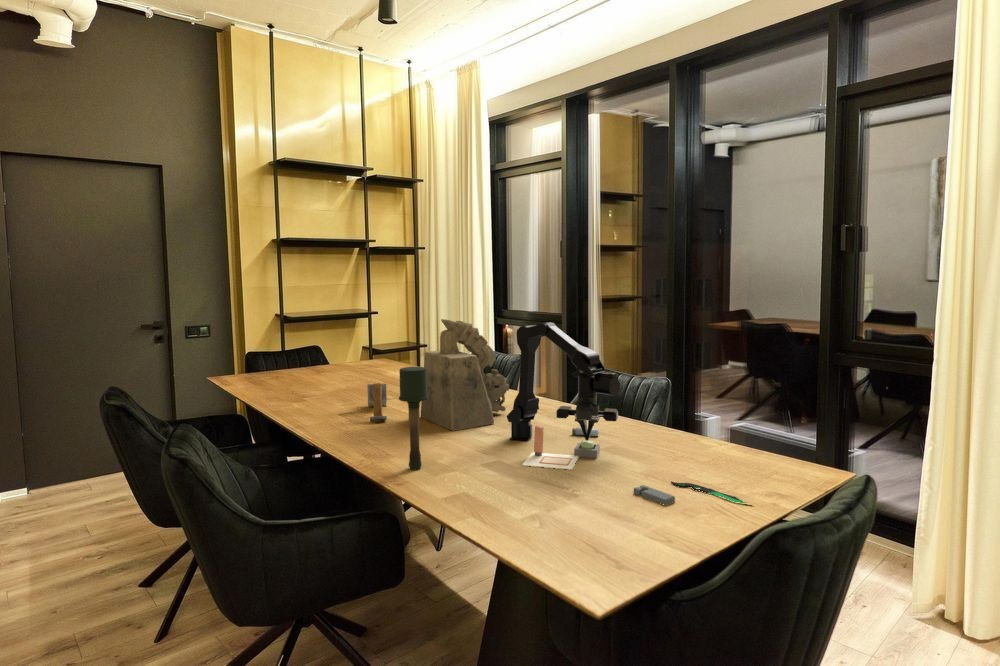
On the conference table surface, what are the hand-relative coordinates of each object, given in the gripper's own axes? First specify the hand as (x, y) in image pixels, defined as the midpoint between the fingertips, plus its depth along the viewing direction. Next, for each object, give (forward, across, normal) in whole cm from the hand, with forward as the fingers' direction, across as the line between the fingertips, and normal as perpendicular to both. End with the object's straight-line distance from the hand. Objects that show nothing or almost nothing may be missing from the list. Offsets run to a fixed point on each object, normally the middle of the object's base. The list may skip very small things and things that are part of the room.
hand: (587, 440), depth 193 cm
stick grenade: (+5, -47, -27) cm, 54 cm away
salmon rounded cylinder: (+4, -14, -6) cm, 16 cm away
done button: (+3, 0, 0) cm, 3 cm away
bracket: (+5, +22, -33) cm, 40 cm away
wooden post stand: (+5, -92, +34) cm, 98 cm away
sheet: (+5, -10, -10) cm, 15 cm away
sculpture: (+5, -51, +37) cm, 63 cm away
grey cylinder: (+4, -4, +23) cm, 24 cm away
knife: (+5, +36, -26) cm, 45 cm away
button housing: (+5, 0, 0) cm, 5 cm away
